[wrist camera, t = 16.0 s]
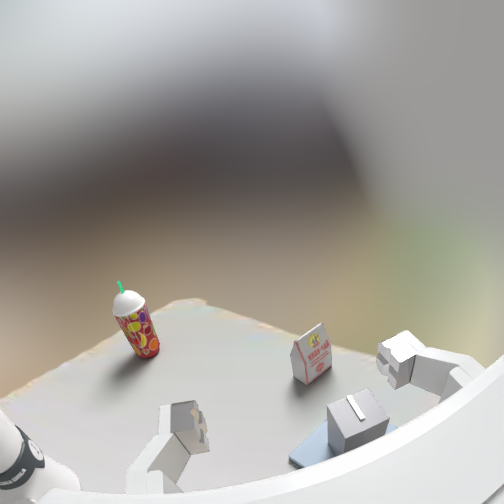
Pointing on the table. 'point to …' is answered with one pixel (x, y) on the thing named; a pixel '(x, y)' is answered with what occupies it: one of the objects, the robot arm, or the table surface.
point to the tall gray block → (355, 422)
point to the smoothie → (136, 322)
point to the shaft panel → (318, 447)
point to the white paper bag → (311, 354)
